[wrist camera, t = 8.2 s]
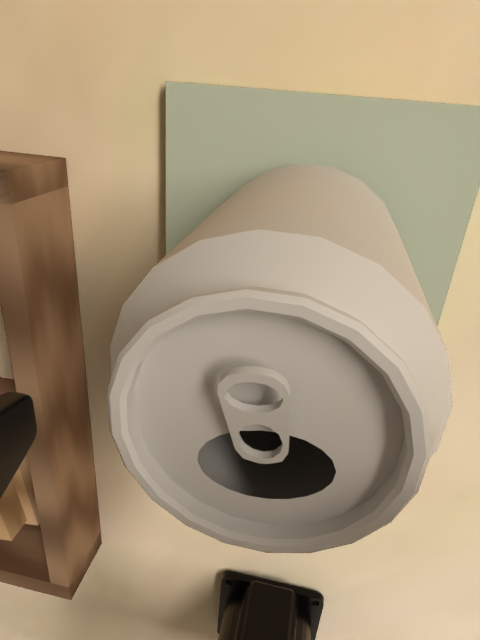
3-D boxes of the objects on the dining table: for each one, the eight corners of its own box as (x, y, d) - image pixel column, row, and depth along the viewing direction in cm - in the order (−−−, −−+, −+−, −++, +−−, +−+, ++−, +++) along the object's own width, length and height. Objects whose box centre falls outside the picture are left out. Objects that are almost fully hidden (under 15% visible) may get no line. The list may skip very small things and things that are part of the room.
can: (224, 332, 22) (111, 561, 11) (207, 165, 18) (24, 261, 8) (392, 335, 20) (448, 606, 9) (404, 153, 17) (511, 253, 6)
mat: (414, 388, 22) (416, 396, 21) (169, 347, 23) (165, 353, 23) (497, 107, 16) (502, 108, 16) (171, 81, 18) (165, 81, 17)
